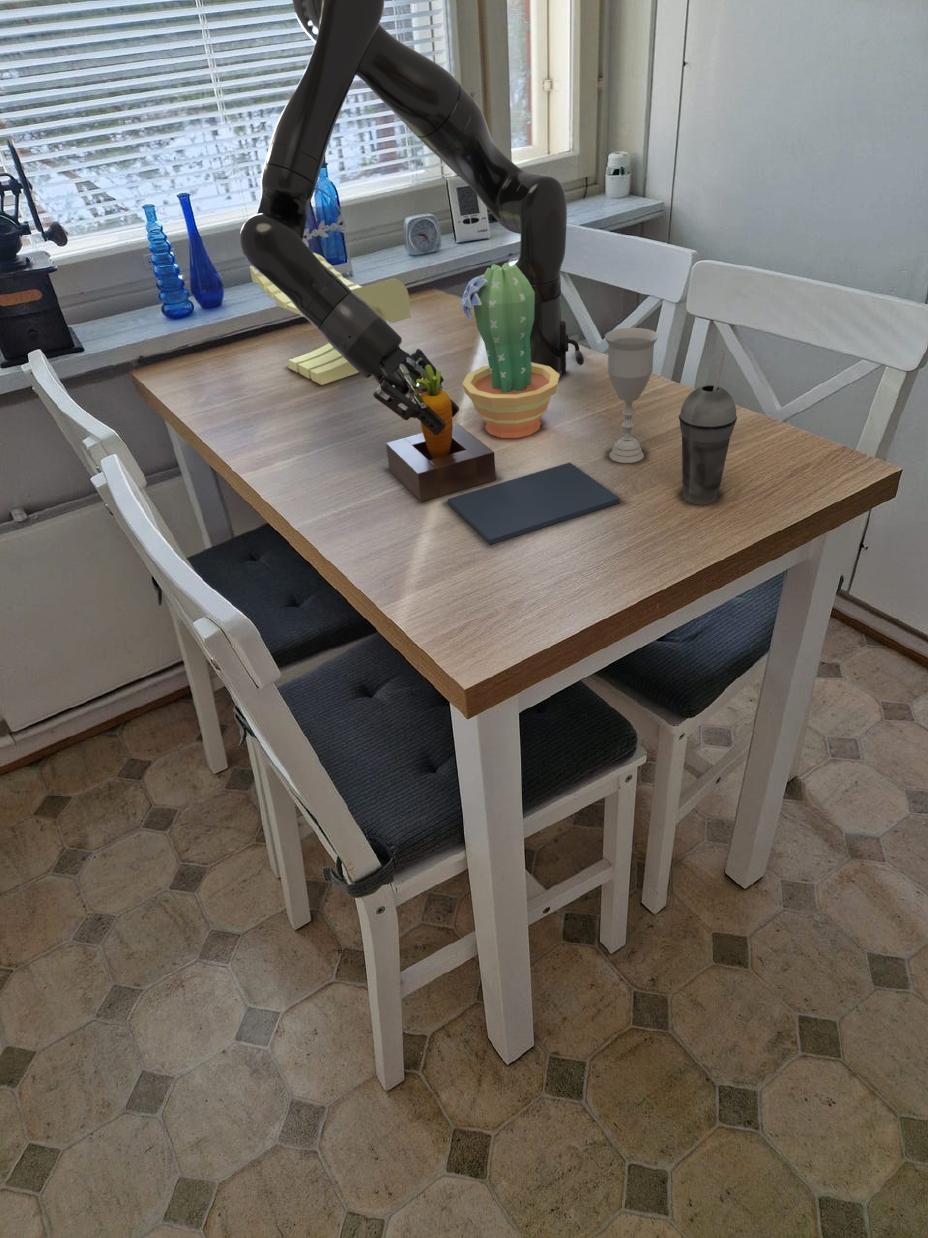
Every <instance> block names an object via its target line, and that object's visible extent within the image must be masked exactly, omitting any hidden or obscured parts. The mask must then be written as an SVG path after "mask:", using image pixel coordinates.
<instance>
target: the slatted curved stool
mask: <svg viewBox="0 0 928 1238" xmlns="http://www.w3.org/2000/svg"><path fill="white" fill-rule="evenodd" d="M313 254H314V255H315V256H316V257H317V258H318V260H319V261H320V262H321V263H322V264H323V265H324V266H326V267H327V268H328V269H329V270H330V271H332V272H333V273H334V274H335V275H336V276H337V277H338V278H339V279H340V280H341V281H342V282H343V283H344V284H345V285H346V286H347V287H348V288H349V289H350V290H351V291H352V292H353V293H355V294H356V295H357V296H358V297H359V298H361V299H362V300H363V301H365V302H366V303H367V304H368V305H369V306H370V307H371V308H372V309H373V310H374V311H375V312H376V313H377V314H378V315H379V316H380V317H381V318H382V319H383V320H384V321H385V322H386V323H387V322H389V324H395V323H398V322H400V321H403V320H407V319H411V318H412V314H411V303H410V295H409V290H408V289H407V286H406V285H405V284H404V283H403V282H402V281H401V280H399V279H397V278H389V279H386V280H385V279H384V280H381V281H378V282H374V283H371V284H368V285H364V286H362V285H359V284H356V283H355V282H352V281H351V280H348V279H347V278H345V277H344V276H343V275H342V273H341V272H339V271H337V270H336V269H335V267H334V265H332V264H330V263H329V262H328V261H327V260H326V258H325V257H323V256H322V255H320V254H318V253H316V252H313ZM249 271H250V275H251V280H252V282H253V283H255V284H258V286H259V290H261V291H263V292H266V294H267V298H269V299H272V300H273V299H274V303H275V306H277V307H280V308H282V309H285V310H287V311H290V312H292V313H294V314H296V315H299V316H300V317H303V318H305V317H304V315H303V314H302V313H301V312H300V311H299V310H298V309H297V308H296V307H295V305H294V304H293V303H292V301H291V300H290V299H289V298H288V297H287V296H286V295H285V294H284V293H283V292H282V291H281V290H280V289H278V288H277V287H276V286H275V285H274V284H273V283H272V282H271V281H270V280H268V279H267V278H266V277H265V276H264V275H262V274H261V273H259V272H258V271H257V270H256V269H255V268H254V267H253V266H252V265H249ZM288 369H290V370H292V371H293V372H296V373H299V374H300V375H302V376H303V377H305V378H307V379H311V381H312V382H315V383H316V384H319V385H320V386H323V385H326V384H329V383H331V382H335V381H339V380H341V379H344V378H347V377H350V376H353V375H356V374H360V373H359V372H358V371H357V370H356V369H355V368H354V367H353V366H352V365H351V364H350V363H349V362H348V361H347V360H346V359H345V358H344V357H343V356H342V355H341V354H340V353H339V352H338V351H337V350H336V349H335V348H334V347H333V346H332V345H331V344H330V343H329V342H328V343H327V344H325V345H323V346H321V347H319V348H317V349H315V350H312V351H310V352H308V353H304V354H302V355H299V356H296V357H292V358H290V359H288Z"/></svg>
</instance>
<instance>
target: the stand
mask: <svg viewBox="0 0 928 1238" xmlns="http://www.w3.org/2000/svg"><path fill="white" fill-rule="evenodd" d="M385 447H386V455H387V461H388V469H389V471H390V472H391V473H392V475H394V476H395V477H396V479H398V480H399V482H401V483H402V484H403V485H404V487H406V489H408V491H409V492H410V493H411V494H412V495H413V496H414V497H415V498H416V499H417V500H418V501H419V502H420V503H424V502H426V501H430V500H434V499H438V498H440V497H444V496H447V495H451V494H453V493H458V492H460V491H464V490H468V489H470V488H473V487H478V486H480V485H483V484H488V483H491V482H493V481H496V480H497V475H496V460H495V451H493V450H492V449H491V448H490V447H488V446H487V445H486V444H485V443H483V442H482V441H481V440H480V439H478V438H477V437H476V436H475V435H473V434H472V433H471V432H469V431H468V430H467V429H466V428H464V427H463V426H462V425H461V424H460V423H455V424H453V429H452V440H451V447H450V450H449V454H448V455H446V456H442V457H439V458H435V459H433V458H432V456H431V454H430V452H429V450H428V448H427V445H426V442H425V439H424V436H423V432H421V433H417V434H414V435H409V436H407V437H403V438H398V439H395V440H391V441H387V442H385Z"/></svg>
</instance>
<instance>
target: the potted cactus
mask: <svg viewBox="0 0 928 1238" xmlns="http://www.w3.org/2000/svg"><path fill="white" fill-rule="evenodd" d="M534 304H535V292H534V290H533V289H532V287H531V285H530V283H529V281H528V280H527V278H526V277H525V276H524V275H523V273H522V272H521V271H520V270H519V268H518V267H517V266H516V265H513V266H510V265H509V263H507V262H504V263H503V264H502V265H501V266H500V265H498V264H495V263H493V264H491V267H487V268H486V270H485V272H484V273H483V274H481V275H478V276H476V277H473V278H472V279H470V280H469V282H468V283H467V285H466V287H465V290H464V292H463V295H462V299H461V307H462V311H463V314H465V315H466V318H467V319H468V321H469V322H472V321H473V316H472V311H471V309H472V308H473V314H474V321H475V326H476V328H477V330H478V333H479V335H480V337H481V339H482V341H483V344H484V347H485V352H486V357H487V361H488V365H484V366H482V367H479V368H477V369H475V370H473V371H471V372H469V373H467V374H466V376H465V378H464V380H463V381H462V384H461V386H462V388H463V391H464V393H465V395H466V396H467V397H468V398H469V399H470V400H471V402H472V404H473V407H474V410H475V412H477V413H478V415H479V416H480V417H481V418H482V420H483V421H484V422H485V424H486V425H485V431H486V432H487V433H488V434H490V435H491V436H494V437H497V438H501V439H519V438H523V437H527V436H528V437H529V436H531V435H533V434H535V433H536V432H538V431H539V430H540V428H541V425H542V422H541V420H542V418H543V416H544V415H545V413H546V412H547V409H548V408H549V407H548V406H549V404H550V400H551V397H552V396H553V395H555V394H556V391H557V388H558V384H559V380H560V377H559V376H560V374H558V373H557V372H556V371H555V370H553V369H552V368H551V367H550V366H545V365H541V364H537V363H532V362H531V351H530V334H531V330H532V326H533V322H534Z"/></svg>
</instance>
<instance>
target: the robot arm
mask: <svg viewBox="0 0 928 1238" xmlns="http://www.w3.org/2000/svg"><path fill="white" fill-rule="evenodd" d="M292 6H293V9H294V13H295V16H296V18H297V21H298V22H299V25H300V26H301V28H302V29H303V31H304V32H305V33H306V35H307V36H308V37H309V38H310V39H311V40H312V41H313V42H314V47H313V49H312V53H311V56H310V59H309V61H308V63H307V66H306V68H305V70H304V72H303V74H302V76H301V78H300V81H299V82H298V84H297V85H296V88H295V89H294V91H293V93H292V95H291V96H290V98H289V100H288V102H287V103H286V105H285V107H284V109H283V111H282V112H281V115H280V116H279V119H278V121H277V123H276V126H275V128H274V131H273V133H272V137H271V140H270V143H269V147H268V151H267V154H266V158H265V162H264V165H263V169H262V172H261V178H260V188H261V189H260V190H261V194H260V195H261V196H260V201H259V204H258V208H257V211H256V214H254V215H252V216H250V217H249V218H247V220H245V222H244V223H243V225H242V227H241V229H240V232H239V233H240V234H239V246H240V249H241V252H242V255H243V256H244V258H245V259H246V261H247V262H248V263H249V264H250V266H253V267H254V268H255V269H256V270H257V271H258V272H259V273H261V274H262V275H264V276H265V277H266V278H267V279H268V280H270V281H271V282H272V283H273V284H274V285H275V286H276V287H277V288H278V289H280V290H281V291H282V292H283V293H284V294H285V295H286V296H287V297H288V298H289V299H290V300H291V301H292V303H293V304H294V305H295V307H296V308H297V309H298V310H299V311H300V312H301V313H302V314H303V315H304V317H303V318H305V319H306V320H307V321H308V322H310V324H311V325H312V326H313V327H314V328H316V329H317V330H318V331H319V332H320V333H321V335H322V336H323V337H324V338H325V340H326V341H327V342H328V343H330V344H331V345H332V346H333V347H334V348H335V349H336V350H337V351H338V352H339V353H340V354H341V355H342V356H343V357H344V358H345V359H346V360H347V361H348V362H349V363H350V364H351V365H352V366H353V367H354V368H355V369H356V370H357V371H358V372H359V373H358V374H360V375H361V376H362V377H363V378H365V379H370V378H371V377H372V376H373V377H374V379H375V380H376V382H377V383H378V384H379V385H378V387H377V389H376V390H375V391H374V392H373V393H372V395H373V398H374V399H376V401H378V402H380V403H381V404H382V405H384V406H385V407H387V408H388V409H389V410H391V412H393V413H395V414H396V415H397V416H399V417H400V418H401V419H403V420H404V421H409V420H410V419H416V420H418V421H419V422H420V421H421V422H422V423H423V424H424V425H425V426H426V427H427V428H428V429H429V430H430V431H431V432H432V433H433V434H435V435H438V434H439V433H440V432H441V431H442V430H443V429H444V428H445V427H446V423H445V422H444V421H443V420H442V419H441V418H440V417H439V416H438V415H437V414H436V413H435V412H434V411H433V410H432V409H431V408H430V407H429V406H428V407H427V406H426V404H425V402H424V401H423V399H422V398H421V396H420V395H421V394H423V393H425V392H426V391H427V389H426V388H425V387H424V386H423V385H421V384H418V383H416V380H417V379H422V380H425V379H429V381H430V378H429V376H428V374H427V371H426V369H425V366H427V365H430V366H431V367H432V370H433V372H434V375H435V376H436V370H437V369H436V367H435V366H434V364H433V363H432V362H431V361H430V360H429V358H428V357H427V356H426V354H425V353H424V352H423V351H422V349H420V348H417V349H416V350H415V351H413V352H412V353H411V354H410V353H408V352H407V351H404V350H403V349H402V348H401V347H400V346H401V344H402V341H403V340H402V339H403V338H402V336H401V335H399V334H398V332H396V330H394V328H393V327H391V326H390V325H389V324H388V323H387V322H385V321H384V320H383V319H382V318H381V317H380V316H379V315H378V314H377V313H376V312H375V311H374V310H373V309H372V308H371V307H370V306H369V305H368V304H367V303H366V302H365V301H363V300H362V299H361V298H359V297H358V296H357V295H356V294H355V293H353V292H352V291H351V290H350V289H349V288H348V287H347V286H346V285H345V284H344V283H343V282H342V281H341V280H340V279H339V278H338V277H337V276H336V275H335V274H334V273H333V272H332V271H330V270H329V269H328V268H327V267H326V266H324V265H323V264H322V263H321V262H320V261H319V260H318V258H317V257H316V256H315V255H314V254H313V253H314V252H313V251H312V250H311V249H310V248H309V247H308V245H307V244H306V243H305V242H304V241H303V239H304V234H305V229H306V225H307V224H306V223H307V219H308V213H309V207H310V204H311V201H312V199H313V196H314V193H315V191H316V187H317V184H318V182H319V181H318V180H319V177H320V175H321V171H322V166H323V163H324V159H325V156H326V153H327V149H328V146H329V144H330V140H331V138H332V134H333V132H334V129H335V126H336V124H337V120H338V118H339V116H340V113H341V111H342V108H343V106H344V103H345V101H346V98H347V96H348V93H349V91H350V89H351V87H352V84H353V83H354V80H355V78H356V77H358V78H359V79H360V80H361V81H362V82H363V83H364V84H365V85H366V86H367V87H368V88H369V89H370V90H371V91H372V92H373V93H374V94H375V95H376V96H377V97H378V98H379V99H380V100H381V101H382V102H383V104H385V105H386V106H387V107H388V108H389V110H390V111H391V112H393V114H395V115H396V116H397V117H398V118H399V119H400V120H401V121H402V122H403V123H404V124H405V125H406V127H407V128H408V129H409V130H410V131H411V132H412V133H413V134H414V135H415V136H416V137H417V138H418V139H419V140H420V142H422V144H424V145H425V146H426V147H427V148H428V149H429V151H431V152H432V153H433V154H434V155H436V156H437V157H438V158H439V159H440V160H441V161H442V162H443V163H444V164H445V165H446V166H447V167H448V168H449V169H450V170H451V171H452V172H453V173H455V174H456V175H457V177H459V178H460V179H462V180H463V181H464V182H465V183H466V184H467V185H468V186H469V187H470V188H471V189H472V191H473V192H474V193H475V195H477V197H478V198H479V199H480V201H481V202H482V203H483V204H484V206H485V207H486V208H487V209H488V211H489V212H490V213H491V215H492V216H493V217H494V218H495V220H496V221H497V222H498V223H499V224H500V225H501V226H502V227H503V228H505V229H506V230H507V231H509V232H512V233H515V234H519V235H520V241H519V242H520V243H519V245H520V246H519V254H518V255H516V256H514V257H511V258H510V259H508V261H507V262H506V263H509V265H510V266H513V265H516V266H517V267H518V268H519V270H520V271H521V272H522V273H523V275H524V276H525V277H526V278H527V280H528V281H529V283H530V285H531V287H532V289H533V290H534V292H535V304H534V322H533V326H532V330H531V334H530V351H531V362H532V363H537V364H541V365H545V366H550V367H551V368H552V369H553V370H555V371H556V372H557V373H558V374H560V376H559V378H561V377H562V376H564V375H566V374H567V353H568V352H569V344H571V345H573V347H574V351H575V352H574V356H575V357H574V358H575V361H576V363H577V365H579V366H582V365H584V363H585V358H584V355H583V353H582V352H581V350H580V345H579V343H578V342H577V341H576V340H575V339H572V338H569V334H567V324H566V323H567V322H566V321H565V320H564V319H562V294H561V293H562V283H561V282H562V281H561V280H562V277H561V276H562V275H561V274H562V265H563V262H564V259H565V255H566V249H567V247H566V246H567V245H566V244H567V225H568V223H567V222H568V204H567V197H566V192H565V189H564V187H563V185H562V184H561V182H560V181H559V180H558V179H557V178H555V177H553V176H550V175H547V174H540V173H535V172H528V171H525V170H524V169H521V167H519V166H518V165H517V164H516V163H514V162H512V161H511V160H510V159H509V158H508V157H507V156H506V155H505V154H504V153H503V151H501V150H500V149H499V147H498V146H497V145H496V143H495V141H494V139H493V138H492V136H491V132H490V129H489V125H488V123H487V119H486V117H485V114H484V113H483V111H482V109H481V107H480V106H479V104H478V103H477V102H476V100H475V99H474V97H472V95H471V94H470V93H469V92H468V91H467V90H466V88H464V86H463V85H462V84H461V83H460V82H459V81H458V79H456V77H455V76H453V75H452V74H451V73H450V72H449V71H448V70H447V69H445V68H444V67H443V66H441V65H440V64H438V63H436V62H435V61H433V60H431V59H430V58H428V57H427V56H425V55H423V54H422V53H420V52H418V51H417V50H415V49H413V48H411V47H410V46H408V45H406V44H404V43H403V42H401V41H399V39H397V38H395V37H394V36H393V35H392V34H390V33H389V32H388V31H387V30H386V29H385V28H384V27H383V26H382V25H381V24H380V23H381V20H382V17H383V13H384V8H385V0H292ZM444 381H445V380H444V377H443V376H442V375H441V378H440V384H439V389H438V390H441V391H443V385H442V384H443V383H444ZM430 383H431V382H430ZM451 403H452V418H454V417H455V416H456V415H457V413H458V412H459V411H460V407H459V406H458V405H457V403H456V402H454V401H453V399H451ZM402 407H404V408H402ZM426 407H427V408H426Z"/></svg>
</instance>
